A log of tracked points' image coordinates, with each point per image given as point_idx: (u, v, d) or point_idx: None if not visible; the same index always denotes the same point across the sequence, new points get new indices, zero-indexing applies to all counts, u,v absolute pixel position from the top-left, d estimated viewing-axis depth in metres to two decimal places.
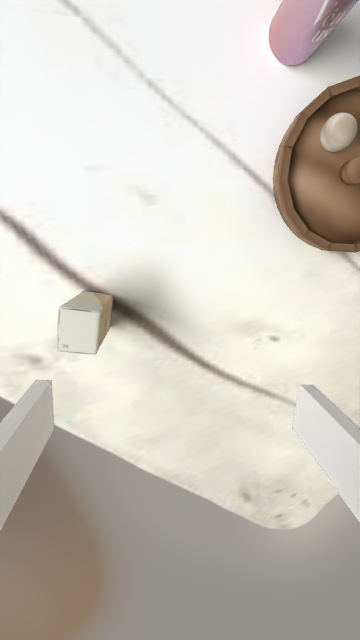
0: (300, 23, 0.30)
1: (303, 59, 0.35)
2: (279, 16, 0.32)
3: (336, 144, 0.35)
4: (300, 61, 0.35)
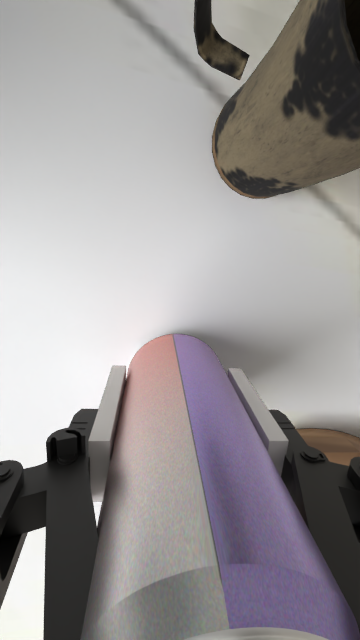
0: None
1: None
2: None
3: None
4: None
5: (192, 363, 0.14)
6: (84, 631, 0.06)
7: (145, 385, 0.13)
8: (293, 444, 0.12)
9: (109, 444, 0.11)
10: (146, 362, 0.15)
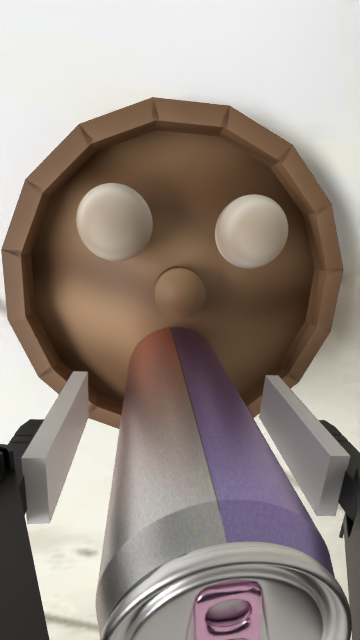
0: None
1: None
2: None
3: (103, 255, 0.16)
4: None
5: (190, 352, 0.15)
6: (109, 558, 0.07)
7: (148, 371, 0.14)
8: (351, 458, 0.12)
9: (46, 461, 0.10)
10: (147, 352, 0.16)
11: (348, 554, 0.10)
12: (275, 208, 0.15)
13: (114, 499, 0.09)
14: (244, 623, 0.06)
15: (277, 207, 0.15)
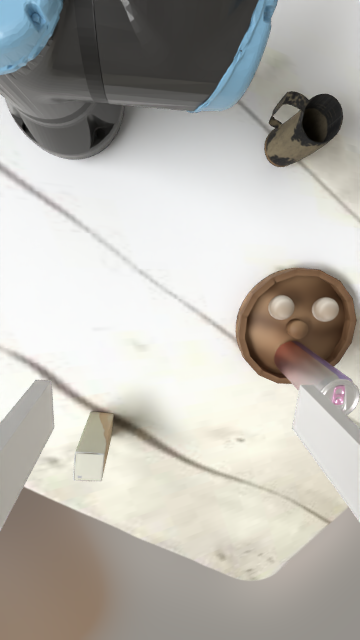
0: None
1: None
2: (281, 366, 0.49)
3: (279, 318, 0.48)
4: None
5: (307, 350, 0.48)
6: (316, 385, 0.39)
7: (297, 355, 0.46)
8: None
9: None
10: (290, 350, 0.49)
11: None
12: (335, 304, 0.48)
13: (309, 380, 0.41)
14: (341, 394, 0.39)
15: (336, 303, 0.48)
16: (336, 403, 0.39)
